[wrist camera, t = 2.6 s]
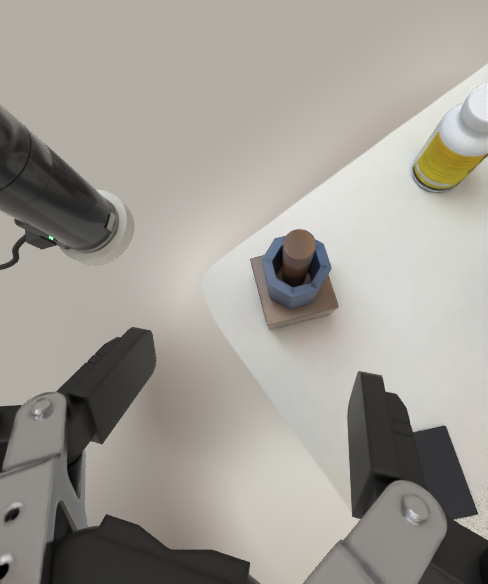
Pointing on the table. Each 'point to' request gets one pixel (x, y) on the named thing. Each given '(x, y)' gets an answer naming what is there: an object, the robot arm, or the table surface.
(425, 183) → the pill bottle
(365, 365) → the table surface
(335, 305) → the stand
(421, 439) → the pad
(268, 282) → the blue hollow octagonal tube
